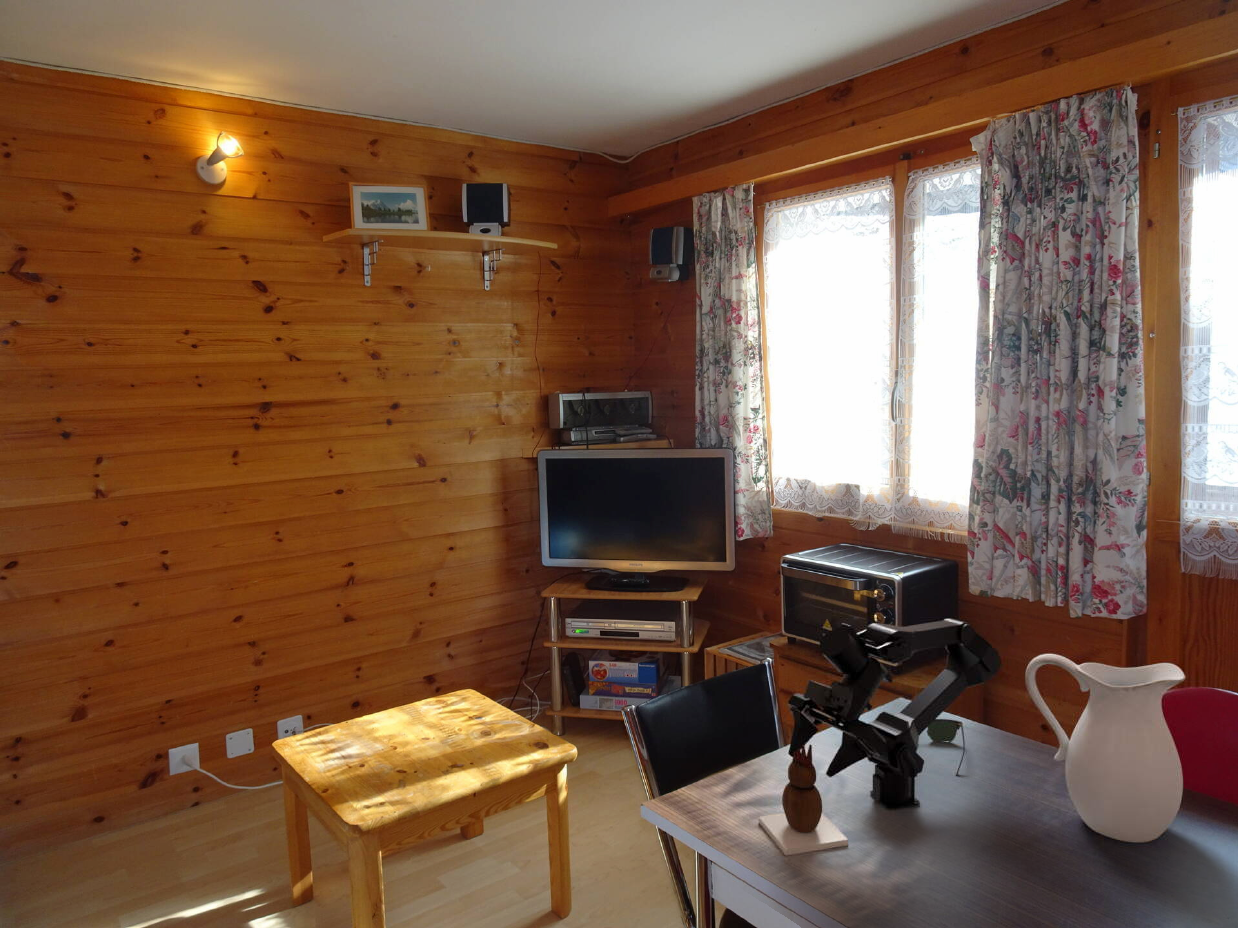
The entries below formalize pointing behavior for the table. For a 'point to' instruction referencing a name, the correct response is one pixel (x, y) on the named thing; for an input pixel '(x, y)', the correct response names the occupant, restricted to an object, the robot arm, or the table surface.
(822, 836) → the display tile
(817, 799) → the wooden figurine
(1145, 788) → the pitcher
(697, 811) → the table surface
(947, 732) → the sunglasses
